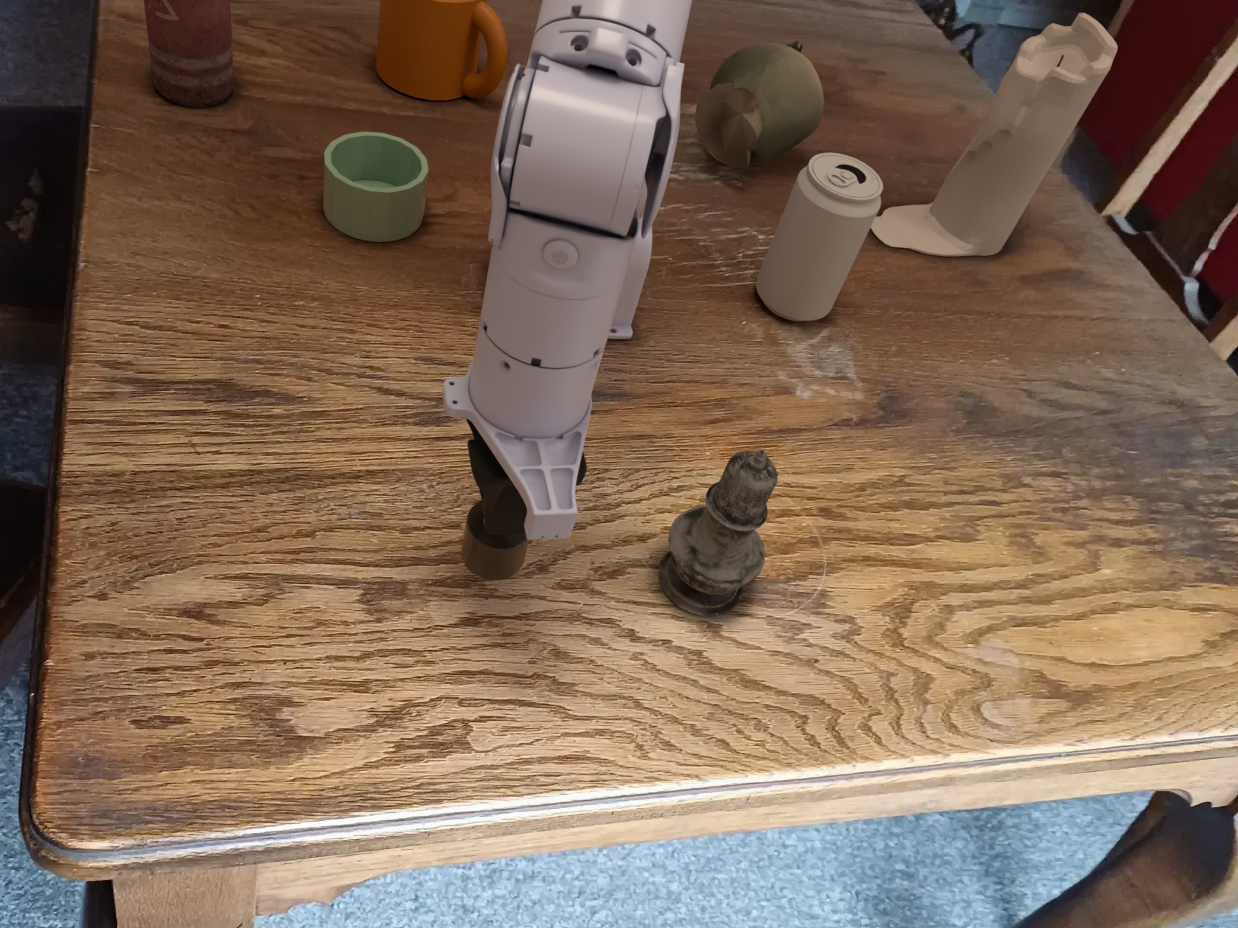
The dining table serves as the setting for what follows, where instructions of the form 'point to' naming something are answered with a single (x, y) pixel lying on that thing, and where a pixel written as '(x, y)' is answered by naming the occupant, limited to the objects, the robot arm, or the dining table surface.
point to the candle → (1009, 145)
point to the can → (191, 50)
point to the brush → (491, 549)
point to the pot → (374, 186)
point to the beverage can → (819, 236)
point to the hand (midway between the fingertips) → (502, 511)
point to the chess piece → (720, 539)
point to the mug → (439, 48)
